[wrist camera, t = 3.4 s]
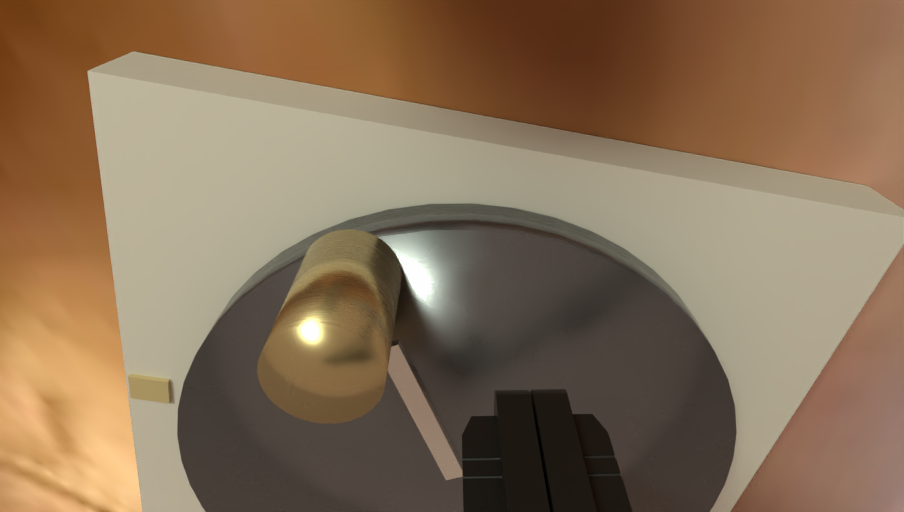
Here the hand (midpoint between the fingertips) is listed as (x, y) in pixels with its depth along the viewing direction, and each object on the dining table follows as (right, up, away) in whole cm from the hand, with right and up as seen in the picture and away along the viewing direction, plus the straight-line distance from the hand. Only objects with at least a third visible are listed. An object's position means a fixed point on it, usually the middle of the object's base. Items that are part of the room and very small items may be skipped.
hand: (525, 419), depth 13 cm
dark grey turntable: (-1, -4, +13) cm, 14 cm away
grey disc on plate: (-1, -3, +16) cm, 16 cm away
